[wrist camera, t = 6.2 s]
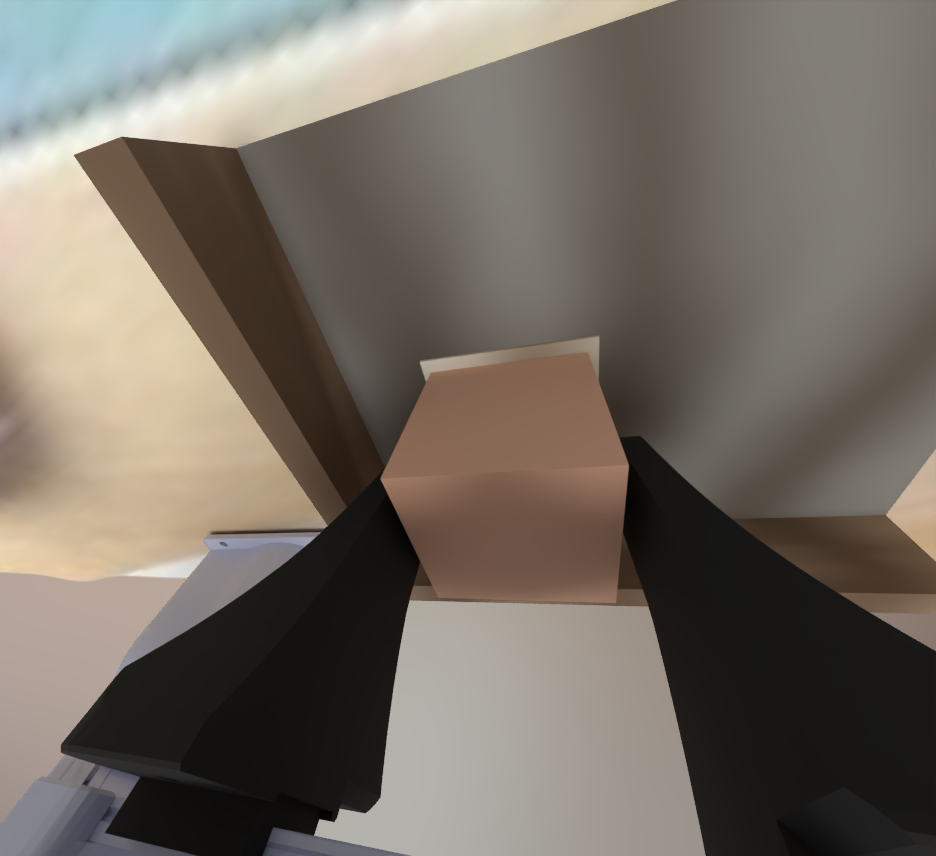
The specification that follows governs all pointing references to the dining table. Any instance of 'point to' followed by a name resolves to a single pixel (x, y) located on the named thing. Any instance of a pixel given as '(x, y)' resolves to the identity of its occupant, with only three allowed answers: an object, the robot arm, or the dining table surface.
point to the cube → (513, 482)
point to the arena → (601, 263)
